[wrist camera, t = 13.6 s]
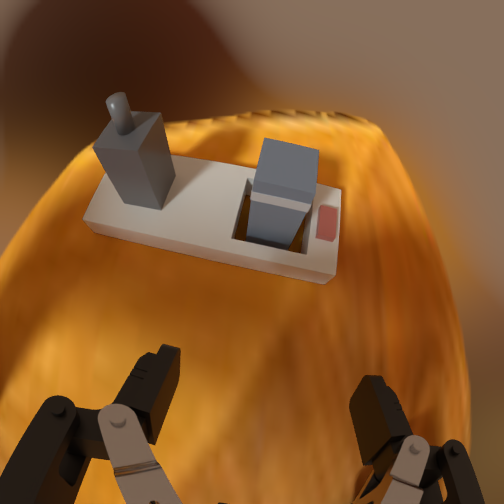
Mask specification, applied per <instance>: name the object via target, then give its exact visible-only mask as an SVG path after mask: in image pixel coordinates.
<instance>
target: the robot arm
mask: <svg viewBox="0 0 504 504" xmlns="http://www.w3.org/2000/svg"><path fill="white" fill-rule="evenodd" d="M180 354H181V350H180V348H177V347H173V346H169V345H166V344H162V345H161V347H160V349H159V351H158V353H157V354H153V353H150V352H148V353H146V354H145V355H143V356H142V357H140V358H139V359H138V361H137V363H136V364H135V366H134V369H132V371H131V373H130V376H128V378H127V380H126V381H125V383H124V385H123V386H122V388H121V390H120V391H119V393H118V395H117V397H116V398H115V400H114V402H113V403H112V404H110V405H107V406H105V407H104V408H102V409H99V410H91V409H85V408H78V407H75V405H74V403H73V402H72V401H71V400H70V399H69V398H67V397H64V396H59V395H57V396H52V397H49V398H48V399H46V400H45V402H44V403H43V404H42V406H41V407H40V409H39V410H38V412H37V414H36V415H35V417H34V418H33V420H32V421H31V423H30V425H29V426H28V428H27V430H26V431H25V433H24V435H23V436H22V438H21V440H20V441H19V443H18V445H17V447H16V448H15V450H14V452H13V454H12V456H11V457H10V459H9V461H8V463H7V465H6V467H5V469H4V471H3V473H2V475H1V477H0V504H74V502H75V499H76V497H77V494H78V491H79V489H80V486H81V483H82V481H83V478H84V476H85V473H86V471H87V468H88V466H89V463H90V461H91V458H97V459H104V460H110V461H111V464H112V467H113V470H114V475H115V478H116V481H117V483H118V486H119V488H120V490H121V493H122V495H123V497H124V500H125V502H126V504H182V502H181V501H180V499H179V497H178V496H177V494H176V492H175V491H174V489H173V487H172V485H171V484H170V482H169V480H168V478H167V476H166V475H165V473H164V471H163V469H162V467H161V466H160V464H159V463H158V462H157V461H156V459H155V457H154V455H153V453H152V451H151V449H150V447H149V444H152V445H155V444H156V441H157V438H158V436H159V433H160V430H161V428H162V425H163V422H164V420H165V417H166V414H167V412H168V409H169V406H170V404H171V401H172V398H173V396H174V393H175V390H176V388H177V385H178V381H179V376H180ZM349 409H350V413H351V417H352V421H353V425H354V429H355V433H356V437H357V441H358V446H359V450H360V454H361V459H362V463H363V466H364V465H373V468H374V470H373V471H372V472H371V474H370V475H369V477H368V479H367V481H366V482H365V484H364V486H363V487H362V489H361V491H360V492H359V494H358V496H357V497H356V499H355V500H354V501H353V503H352V504H485V502H484V499H483V496H482V493H481V490H480V487H479V484H478V481H477V478H476V475H475V472H474V470H473V467H472V464H471V462H470V459H469V457H468V454H467V452H466V449H465V447H464V445H463V444H462V443H461V442H459V441H457V440H453V439H452V440H449V441H447V442H446V443H445V444H444V445H443V446H442V447H438V446H429V444H428V442H427V441H426V440H425V439H424V438H422V437H420V436H417V435H413V433H412V431H411V428H410V426H409V423H408V421H407V418H406V416H405V414H404V411H402V407H401V404H399V400H398V398H397V395H396V394H395V392H394V391H393V390H392V389H391V388H390V387H389V386H386V384H385V382H384V379H383V377H382V376H377V375H365V376H364V377H363V378H362V380H361V382H360V384H359V385H358V387H357V389H356V390H355V392H354V394H353V395H352V397H351V399H350V404H349ZM148 443H149V444H148ZM442 477H443V479H444V483H445V486H446V490H447V498H446V500H445V501H444V502H443V498H442V495H441V491H440V487H439V484H438V480H439V479H441V478H442ZM218 504H226V503H218Z"/></svg>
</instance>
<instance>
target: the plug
mask: <svg viewBox="0 0 504 504" xmlns="http://www.w3.org/2000/svg"><path fill="white" fill-rule="evenodd" d="M318 158H319V150H316V149H312V148H309V147H304V146H300V145H296V144H292V143H287V142H283V141H278V140H273V139H269V138H264V141H263V145H262V149H261V153H260V157H259V161H258V165H257V169H256V173H255V177H254V182H253V187H252V191H251V198H250V200H251V204H250V212H249V220H248V227H247V235H246V242H250V243H254V244H259V245H264V246H268V247H273V248H277V249H282V250H286V251H287V250H288V248H289V246H290V244H291V242H292V240H293V238H294V237H295V235H296V233H297V231H298V229H299V227H300V225H301V223H302V221H303V219H304V217H305V215H306V213H308V211H309V209H310V207H311V203H312V201H313V198H314V196H315V194H316V185H317V172H318Z"/></svg>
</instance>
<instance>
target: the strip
mask: <svg viewBox="0 0 504 504" xmlns="http://www.w3.org/2000/svg"><path fill="white" fill-rule="evenodd" d="M106 103H107V107H108V109H109V112H110V115H111V117H112V120H111V121H110V122H109V124H108V125H107V127H106V128H105V129H104V131H103V132H102V134H101V135H100V137H99V138H98V139H97V141H96V142H95V144H94V146H93V147H92V148H93V149H94V151H95V153H96V155H97V157H98V159H99V161H100V162H101V164H102V166H103V168H104V170H105V172H106V173H105V175H104V176H103V178H102V180H101V182H100V184H99V186H98V188H97V190H96V192H95V194H94V196H93V198H92V200H91V202H90V204H89V206H88V208H87V210H86V212H85V214H84V216H83V219H82V220H83V221H84V222H85V223H86V224H87V225H88V226H89V227H90V229H91V230H92V231H93V232H94V233H98V234H102V235H106V236H110V237H114V238H118V239H122V240H126V241H131V242H135V243H139V244H143V245H147V246H152V247H156V248H160V249H164V250H169V251H173V252H177V253H181V254H186V255H190V256H195V257H199V258H203V259H208V260H212V261H217V262H221V263H226V264H230V265H235V266H239V267H244V268H248V269H253V270H257V271H262V272H267V273H271V274H276V275H281V276H285V277H290V278H295V279H300V280H304V281H309V282H314V283H319V284H324V285H325V284H326V283H327V282H328V281H330V280H331V279H332V278H333V277H335V276H336V268H337V256H338V244H339V229H340V210H341V189H337V188H333V187H330V186H326V185H322V184H318V183H317V185H316V194H315V196H314V198H313V201H312V203H311V207H310V209H309V211H308V213H306V217H305V225H304V233H303V240H302V247H301V254H300V253H295V252H291V251H286V250H282V249H277V248H273V247H268V246H264V245H259V244H254V243H250V242H245V241H241V240H236V239H234V238H235V234H236V230H237V226H238V222H239V218H240V214H241V210H242V207H243V203H244V199H245V195H249V196H251V191H252V187H253V182H254V177H255V173H256V169H253V168H248V167H243V166H238V165H233V164H227V163H221V162H216V161H210V160H203V159H197V158H190V157H184V156H176V155H171V154H170V150H169V146H168V141H167V137H166V133H165V128H164V124H163V119H162V115H161V113H155V112H131V111H130V107H129V105H128V101H127V98H126V94H125V93H123V92H118V93H115V94H113V95H111V96H110V97H108V99H107V100H106Z"/></svg>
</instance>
